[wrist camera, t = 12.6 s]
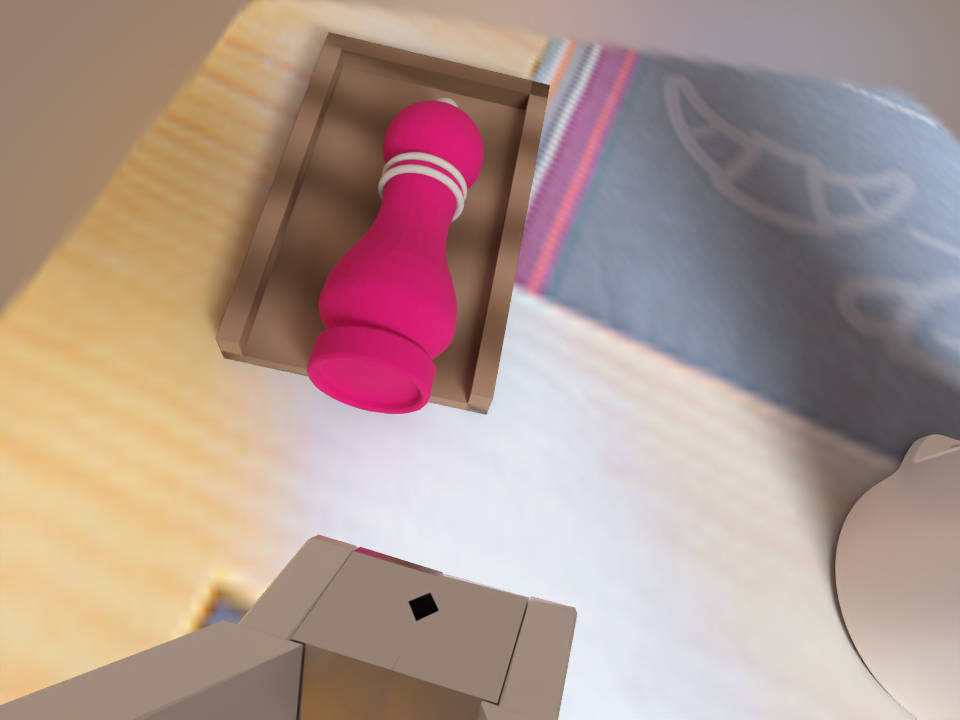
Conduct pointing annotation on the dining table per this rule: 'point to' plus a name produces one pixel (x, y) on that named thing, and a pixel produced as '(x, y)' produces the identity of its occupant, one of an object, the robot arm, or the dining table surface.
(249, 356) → the walnut tray
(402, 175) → the pepper mill
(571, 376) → the dining table surface
